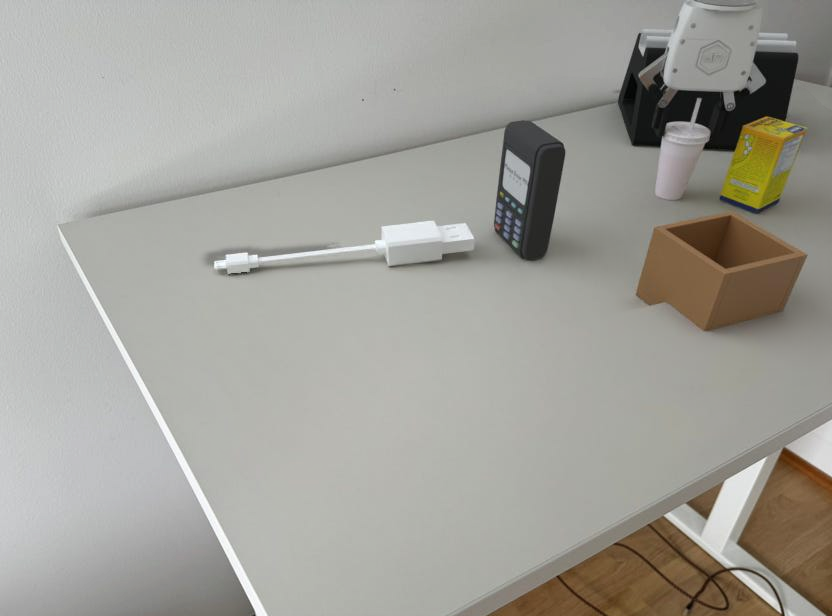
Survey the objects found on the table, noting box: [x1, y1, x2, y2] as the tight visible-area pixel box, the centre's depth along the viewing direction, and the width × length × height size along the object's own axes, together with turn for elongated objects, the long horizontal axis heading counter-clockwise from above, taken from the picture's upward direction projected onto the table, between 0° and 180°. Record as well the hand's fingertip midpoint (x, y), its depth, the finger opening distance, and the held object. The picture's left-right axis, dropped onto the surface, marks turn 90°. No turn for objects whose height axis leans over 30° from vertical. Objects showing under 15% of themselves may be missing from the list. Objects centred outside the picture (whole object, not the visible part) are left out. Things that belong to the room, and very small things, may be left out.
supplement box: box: [718, 117, 808, 215], centre depth 98 cm, size 6×6×11 cm
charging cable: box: [213, 220, 475, 275], centre depth 89 cm, size 5×32×3 cm, turn 98°
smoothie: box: [654, 98, 711, 201], centre depth 99 cm, size 6×6×14 cm
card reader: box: [493, 119, 566, 261], centre depth 88 cm, size 9×4×15 cm, turn 18°
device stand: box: [617, 28, 799, 151], centre depth 120 cm, size 22×22×15 cm
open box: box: [635, 210, 808, 332], centre depth 78 cm, size 11×11×9 cm
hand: (685, 133), depth 98 cm, fingers closed on smoothie, 6 cm apart
